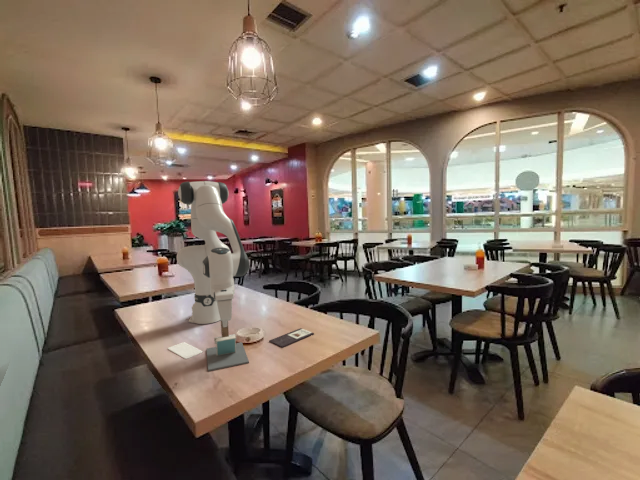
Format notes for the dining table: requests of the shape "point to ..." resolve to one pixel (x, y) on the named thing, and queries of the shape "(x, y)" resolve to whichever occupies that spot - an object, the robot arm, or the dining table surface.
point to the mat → (226, 358)
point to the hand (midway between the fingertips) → (224, 324)
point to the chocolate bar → (291, 337)
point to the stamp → (224, 332)
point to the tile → (226, 345)
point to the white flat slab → (185, 350)
